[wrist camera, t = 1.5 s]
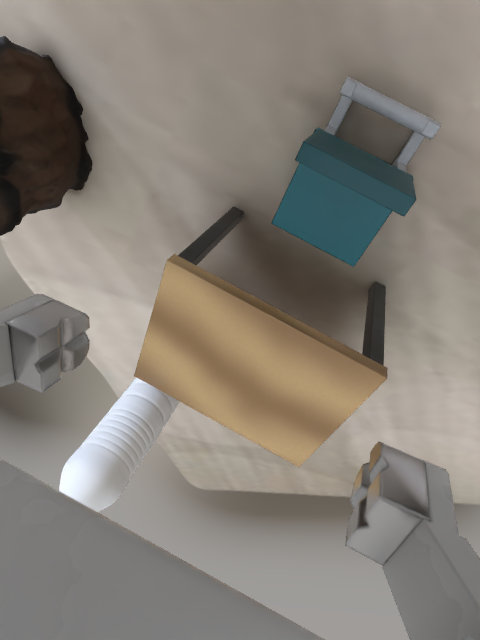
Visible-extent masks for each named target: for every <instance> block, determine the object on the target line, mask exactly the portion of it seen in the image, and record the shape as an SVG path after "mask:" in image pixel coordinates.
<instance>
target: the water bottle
mask: <svg viewBox="0 0 480 640" xmlns="http://www.w3.org/2000/svg"><path fill="white" fill-rule="evenodd" d="M179 402H180V401H178V400H176V399H175V398H173V397H171V396H169V395H167V394H166V393H164V392H162V391H160V390H158V389H157V388H155V387H153V386H151V385H149V384H148V383H146V382H144V381H142V380H140V379H138V378H136V379H135V380H134V381H133V382H132V383H131V385H130V387H129V388H128V389H127V390H126V391H125V392H124V393H123V394H122V396H121V398H120V399H119V400H117V401H116V403H115V404H114V405H113V406H112V408H111V409H110V411H109V412H108V413H107V414H106V415H105V417H104V418H103V419H102V420H101V421H100V423H99V424H98V425H97V426H96V428H95V429H94V430H93V431H92V432H91V434H90V435H89V436H88V437H87V438H86V440H85V441H84V442H83V443H82V445H81V447H79V448H78V449H77V450H76V452H75V453H74V454H73V455H72V456H71V457H70V458H69V460H68V461H67V462H66V464H65V466H64V468H63V471H62V474H61V480H60V489H59V491H60V492H62V493H64V494H66V495H68V496H69V497H71V498H73V499H75V500H76V501H78V502H80V503H82V504H84V505H85V506H87V507H89V508H91V509H93V510H94V511H96V512H99V511H101V510H103V509H105V508H107V507H109V506H110V505H112V504H113V503H114V502H115V501H116V500H117V499H118V498H119V497H120V496H121V494H122V493H123V491H124V489H125V487H126V486H127V484H128V482H129V480H130V479H131V478H132V476H133V474H134V472H135V471H136V470H137V468H138V466H139V465H140V463H141V462H142V460H143V459H144V457H145V455H146V454H147V452H148V451H149V449H150V448H151V446H152V444H153V442H154V441H155V440H156V438H157V437H158V436H159V434H160V432H161V431H162V429H163V427H164V426H165V424H166V423H167V421H168V420H169V418H170V416H171V414H172V413H173V412H174V410H175V409H176V407H177V405H178V404H179Z"/></svg>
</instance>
